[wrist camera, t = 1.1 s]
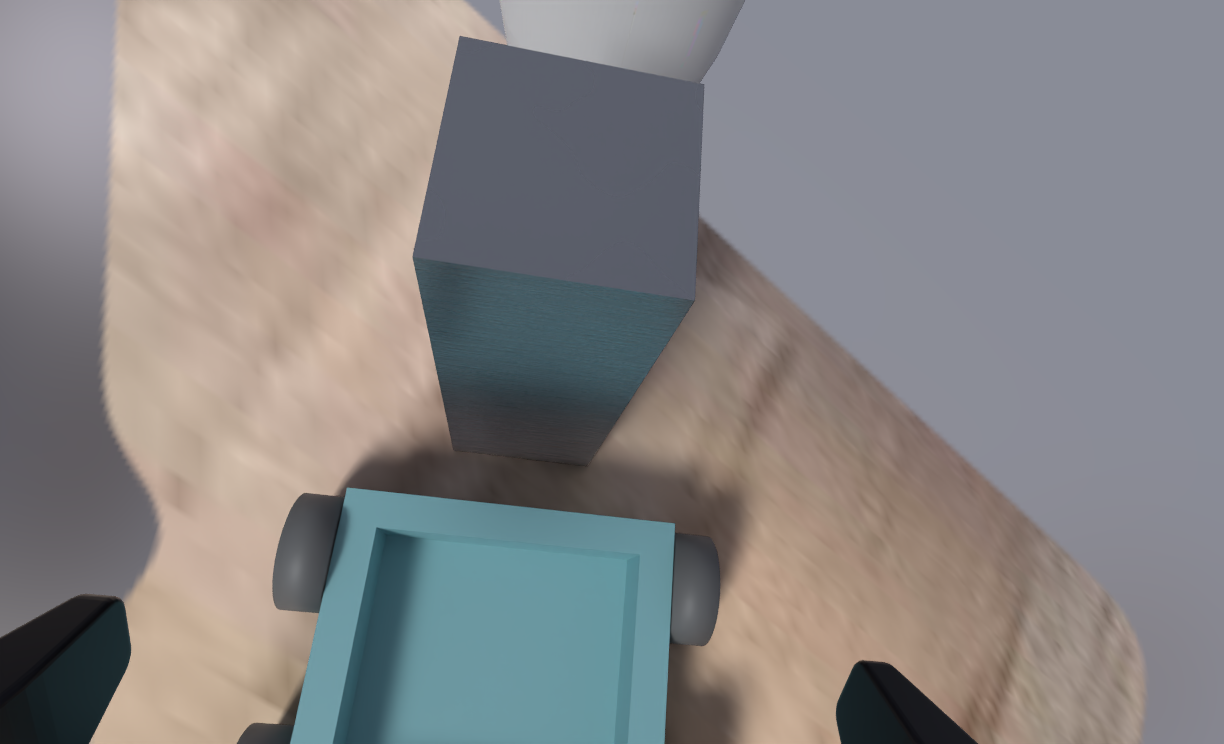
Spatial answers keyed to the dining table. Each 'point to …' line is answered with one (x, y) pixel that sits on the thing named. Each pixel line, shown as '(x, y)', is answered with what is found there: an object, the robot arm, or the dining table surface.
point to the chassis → (485, 621)
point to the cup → (625, 32)
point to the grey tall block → (555, 245)
